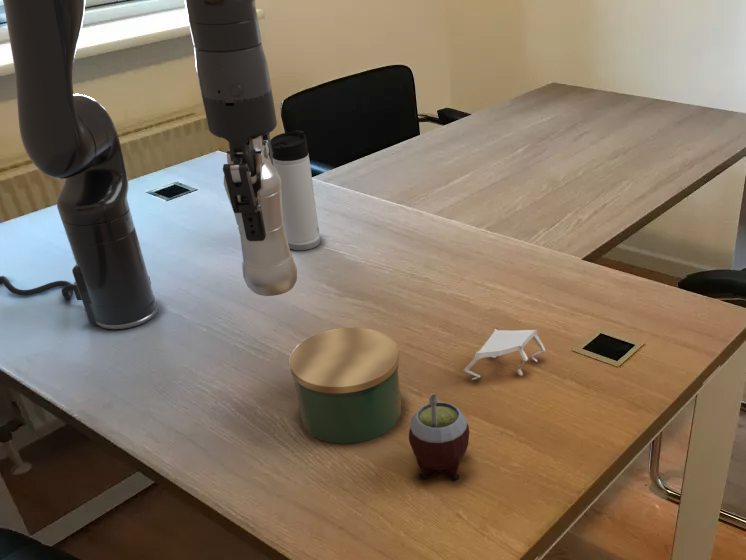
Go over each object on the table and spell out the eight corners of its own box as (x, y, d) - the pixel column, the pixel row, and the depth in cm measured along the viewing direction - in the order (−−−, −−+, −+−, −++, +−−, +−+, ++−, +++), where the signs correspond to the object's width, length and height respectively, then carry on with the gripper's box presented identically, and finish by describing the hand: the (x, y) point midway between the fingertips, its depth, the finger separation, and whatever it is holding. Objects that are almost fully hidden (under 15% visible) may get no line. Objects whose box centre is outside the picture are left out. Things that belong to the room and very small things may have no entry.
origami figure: (502, 342, 121) (502, 314, 118) (547, 361, 116) (549, 332, 114) (449, 378, 113) (448, 348, 110) (496, 400, 109) (495, 370, 106)
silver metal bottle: (287, 304, 100) (259, 147, 89) (237, 299, 101) (203, 143, 90) (307, 280, 105) (283, 128, 94) (259, 276, 107) (230, 125, 95)
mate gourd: (444, 441, 102) (439, 340, 93) (486, 471, 97) (485, 368, 88) (397, 467, 97) (387, 365, 89) (438, 501, 93) (432, 396, 84)
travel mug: (328, 240, 149) (315, 133, 138) (303, 253, 145) (287, 144, 133) (304, 232, 152) (288, 127, 141) (278, 245, 148) (260, 137, 136)
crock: (291, 446, 101) (280, 388, 95) (307, 383, 112) (298, 328, 107) (400, 443, 101) (395, 385, 96) (405, 381, 112) (401, 326, 107)
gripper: (217, 71, 95) (243, 205, 104) (184, 107, 83) (217, 255, 92) (281, 70, 95) (301, 204, 105) (257, 106, 83) (283, 253, 93)
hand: (262, 227), depth 98 cm, fingers closed on silver metal bottle, 6 cm apart
